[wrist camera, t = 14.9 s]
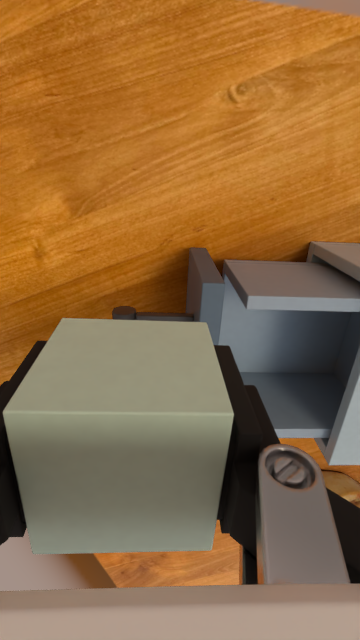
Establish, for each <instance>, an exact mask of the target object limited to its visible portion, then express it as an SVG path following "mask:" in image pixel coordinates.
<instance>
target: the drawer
mask: <svg viewBox="0 0 360 640" xmlns="http://www.w3.org/2000/svg"><path fill="white" fill-rule="evenodd" d="M112 316H113V320H146V321H178V322H206V323H207V325H208V328H209V332H210V335H211V338H212V342H213V345H228V346H230V348H231V351H232V354H233V356H234V359H235V362H236V364H237V367H238V369H239V372H240V375H241V377H242V380H243V383H244V385H254V386H256V388H257V390H258V392H259V395H260V397H261V399H262V402H263V404H264V406H265V409H266V411H267V413H268V416H269V418H270V420H271V423H272V425H273V427H274V430H275V432H276V434H277V437H278V438H330V435H331V432H332V429H333V426H334V423H335V420H336V416H337V413H338V410H339V407H340V404H341V401H342V398H343V395H344V392H345V389H346V386H347V383H348V380H349V376H350V373H351V370H352V367H353V364H354V361H355V358H356V355H357V352H358V349H359V346H360V282H359V281H358V280H356V279H354V278H353V277H351V276H349V275H348V274H346V273H344V272H342V271H341V270H339V269H337V268H336V267H334V266H332V265H331V264H329V263H308V262H280V261H252V260H224V264H223V273H222V277H221V275H220V273H219V271H218V269H217V268H216V266H215V264H214V262H213V260H212V258H211V257H210V255H209V253H208V251H207V249H206V248H190V251H189V267H188V283H187V298H186V313H156V312H137V313H136V310H135V308H133V307H129V306H120V307H116V308H114V309H113V311H112Z"/></svg>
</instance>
